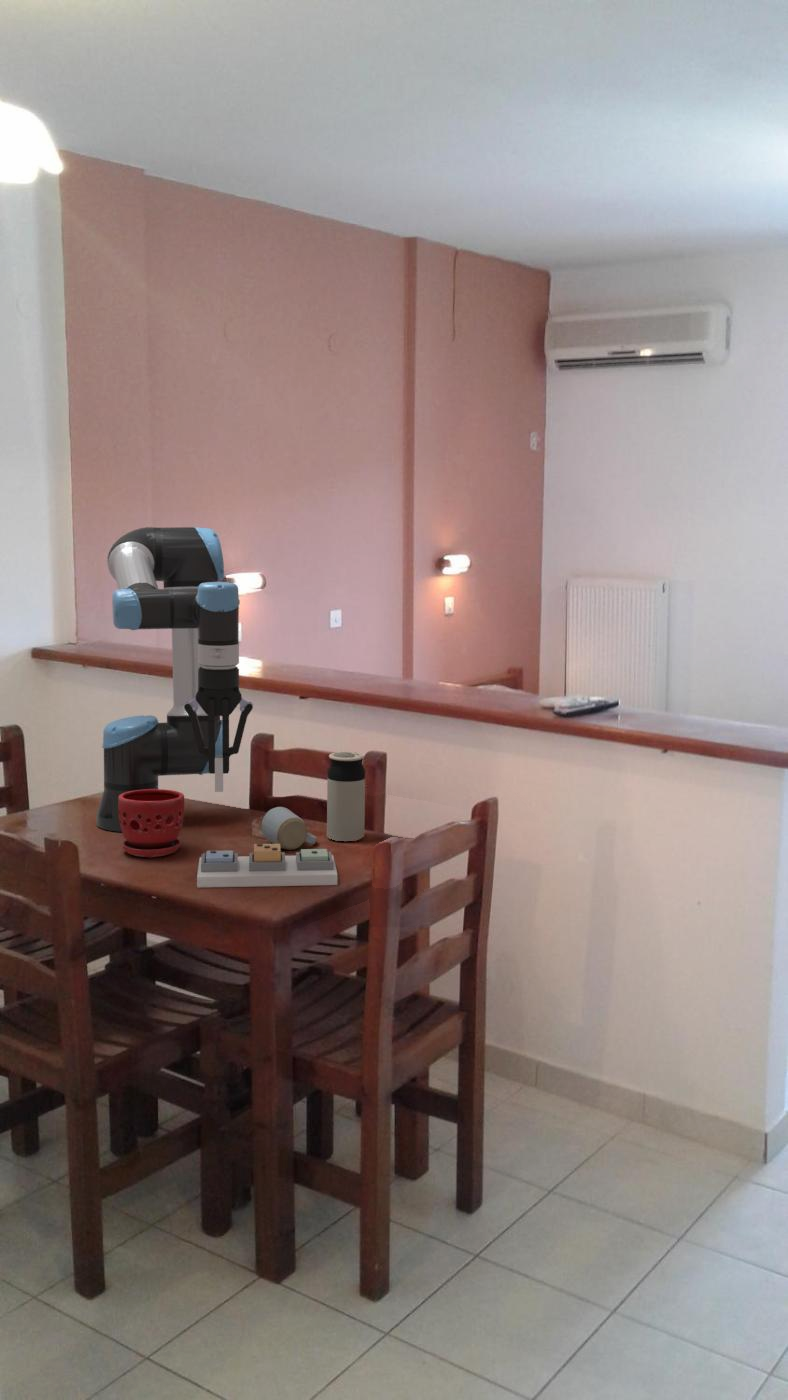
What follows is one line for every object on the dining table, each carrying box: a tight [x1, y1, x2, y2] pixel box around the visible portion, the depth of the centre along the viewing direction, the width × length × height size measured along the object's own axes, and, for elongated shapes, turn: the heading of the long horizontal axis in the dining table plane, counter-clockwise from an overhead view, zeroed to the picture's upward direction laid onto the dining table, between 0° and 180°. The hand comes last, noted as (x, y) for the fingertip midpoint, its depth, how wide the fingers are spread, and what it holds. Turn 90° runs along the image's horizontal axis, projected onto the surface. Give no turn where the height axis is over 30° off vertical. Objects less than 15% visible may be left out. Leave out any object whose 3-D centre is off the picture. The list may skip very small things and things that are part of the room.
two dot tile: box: [205, 849, 234, 863], centre depth 240 cm, size 5×5×2 cm
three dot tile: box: [253, 843, 282, 862], centre depth 241 cm, size 5×5×2 cm
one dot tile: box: [300, 848, 328, 861], centre depth 242 cm, size 5×5×2 cm
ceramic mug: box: [260, 806, 318, 851], centre depth 262 cm, size 11×8×8 cm
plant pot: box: [118, 788, 185, 859], centre depth 256 cm, size 13×13×12 cm
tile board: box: [196, 851, 338, 889], centre depth 242 cm, size 13×26×4 cm, turn 96°
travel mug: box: [326, 751, 366, 842], centre depth 268 cm, size 8×8×18 cm
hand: (219, 790), depth 238 cm, fingers closed
